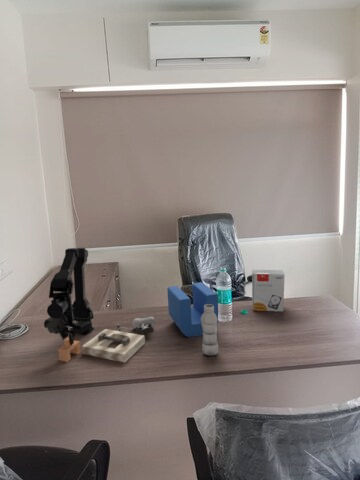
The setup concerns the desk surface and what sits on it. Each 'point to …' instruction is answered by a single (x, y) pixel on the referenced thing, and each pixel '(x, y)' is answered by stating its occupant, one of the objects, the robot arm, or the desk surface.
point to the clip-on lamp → (141, 325)
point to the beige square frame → (121, 352)
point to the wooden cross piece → (68, 349)
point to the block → (182, 310)
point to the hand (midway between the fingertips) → (69, 344)
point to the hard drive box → (267, 290)
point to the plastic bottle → (209, 331)
